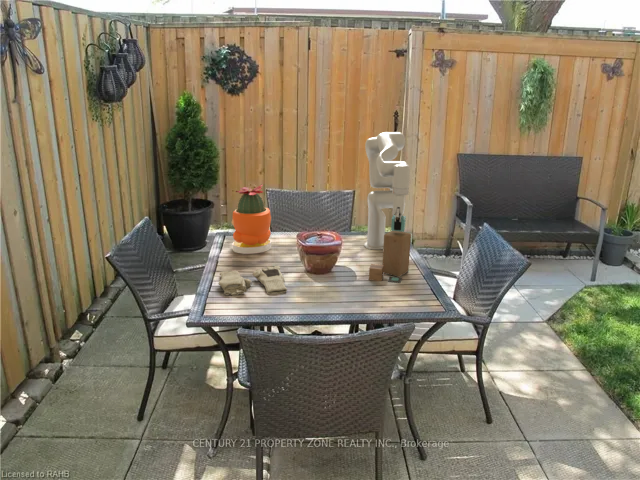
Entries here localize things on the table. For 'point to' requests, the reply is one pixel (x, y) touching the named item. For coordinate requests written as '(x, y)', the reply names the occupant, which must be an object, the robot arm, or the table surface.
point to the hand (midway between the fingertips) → (398, 227)
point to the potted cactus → (251, 223)
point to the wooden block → (396, 253)
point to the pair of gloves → (238, 284)
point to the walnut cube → (376, 272)
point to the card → (394, 279)
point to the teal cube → (403, 220)
